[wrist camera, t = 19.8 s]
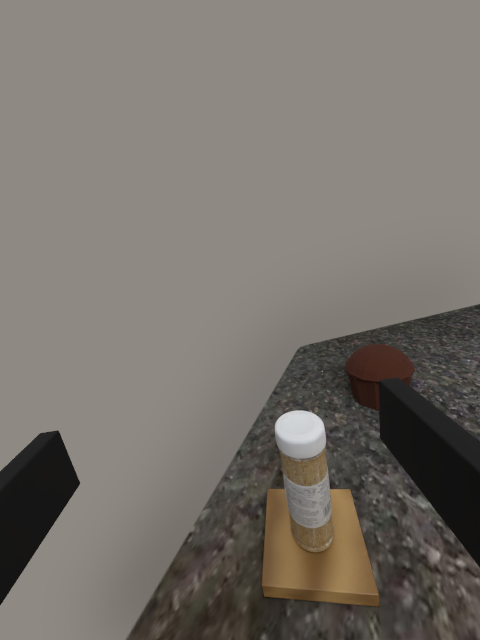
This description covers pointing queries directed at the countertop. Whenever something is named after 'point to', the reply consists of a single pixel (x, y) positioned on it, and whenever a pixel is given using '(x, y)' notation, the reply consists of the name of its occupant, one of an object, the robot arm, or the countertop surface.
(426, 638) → the countertop surface
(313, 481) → the sprinkles bottle
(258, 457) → the countertop surface
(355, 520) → the cutting board
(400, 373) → the muffin
